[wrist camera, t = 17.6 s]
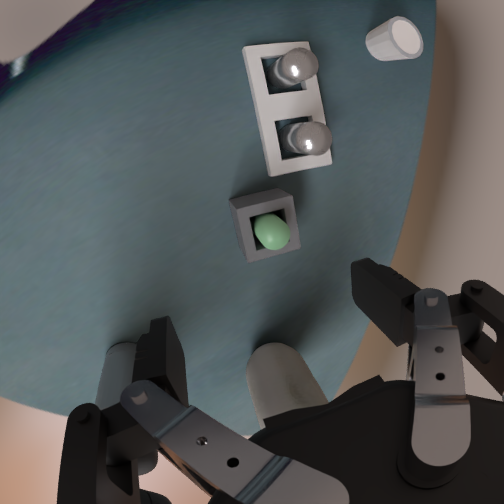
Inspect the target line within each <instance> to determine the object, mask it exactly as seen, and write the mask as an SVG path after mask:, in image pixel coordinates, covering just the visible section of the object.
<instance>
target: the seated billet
mask: <svg viewBox="0 0 504 504" xmlns="http://www.w3.org/2000/svg"><path fill="white" fill-rule="evenodd" d="M318 68H319V64H318V60H317V58H316V56H315V55H314V54H313V53H312V52H311V51H310V50H308V49H306V48H301V47H298V48H294V49H292V50H290V51H289V52H288V53H286V54H285V55H283V56H282V57H281V58H279V59H278V60H277V61H275V62H274V63H273V64H272V65H270V66H269V68H268V69H267V72H266V77H267V80H268V82H269V83H270V84H271V85H272V86H273V87H275V88H278V89H286V88H288V87H291V86H293V85H295V84H298V83H300V82H302V81H305V80H307V79H310V78H312V77H313V76H314V75H315V74H316V73H317V71H318Z"/></svg>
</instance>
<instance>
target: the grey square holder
mask: <svg viewBox="0 0 504 504" xmlns="http://www.w3.org/2000/svg"><path fill="white" fill-rule="evenodd" d="M229 204H230V208H231V212H232V217H233V221H234V225H235V230H236V234H237V238H238V242H239V247H240V249H241V251H242V252H243V254H244V256H245V258H246V260H247V262H248V263H251V262H254V261H258V260H261V259H265V258H268V257H272V256H275V255H279V254H283V253H286V252H290V251H293V250H297V249H300V248H301V246H300V239H299V232H298V226H297V220H296V213H295V207H294V201H293V195H291V194H289V193H287V192H285V191H283V190H281V189H279V188H274V189H270V190H266V191H262V192H258V193H254V194H249V195H245V196H241V197H237V198H233V199H230V200H229ZM271 211H273V213H274V214H275V215H276V216H278V217H279V218H280V219H281V220H282V221H284V222H285V223H286V224H287V225H288V227H289V229H290V239H289V241H288V243H287V244H286V245H285V246H284V247H283V248H281V249H278V250H270V249H268V248H266V247H265V246H264V245H263V244H262V243H261V241H260V240H259V239H258V238H257V236H256V235H255V234H253V233H252V228H251V223H250V219H249V217H252V216H255V215H259V214H263V213H267V212H271Z"/></svg>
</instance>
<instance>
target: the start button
mask: <svg viewBox="0 0 504 504" xmlns="http://www.w3.org/2000/svg"><path fill="white" fill-rule="evenodd" d="M250 223H251V228H252V231H253V232H254V234H255V235H256V236H257V238H258V239H259V240H260V241H261V243H262V244H263V245H264V246H265V247H266V248H268V249H270V250H278V249H281V248H283V247H284V246H285V245H286V244H287V243H288V241H289V239H290V229H289V227H288V225H287V224H286V223H285V222H284V221H282V220H281V219H280V218H279V217H278V216H276V215H275V214H274V213H273V212H267V213H263V214H259V215H255V216H252V217H250Z"/></svg>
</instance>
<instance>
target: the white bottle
mask: <svg viewBox="0 0 504 504" xmlns="http://www.w3.org/2000/svg"><path fill="white" fill-rule="evenodd" d="M246 379H247V384H248V388H249V391H250V394H251V398H252V401H253V404H254V408H255V412H256V415H257V419H258V422H259V425H260V428H261V429H263V428H265V424H264V421H263V419H264V418H267V417H271V416H274V415H277V414H280V413H283V412H286V411H289V410H292V409H298V408H305V407H312V406H318V405H324V404H327V403H329V402H328V400H327V398H326V396H325V395H324V393H323V391H322V389H321V388H320V386H319V384H318V383H317V381H316V380H315V378H314V377H313V375H312V373H311V371H310V370H309V368H308V366H307V364H306V363H305V361H304V359H303V358H302V357H301V355H300V354H299V353H298V352H297V351H296V350H295V349H293V348H291V347H289V346H287V345H285V344H282V343H267V344H265V345H262V346H261V347H259V348H258V349H256V350H255V351H254V353H253V354H252V355H251V357H250V359H249V361H248V363H247V367H246Z"/></svg>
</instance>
